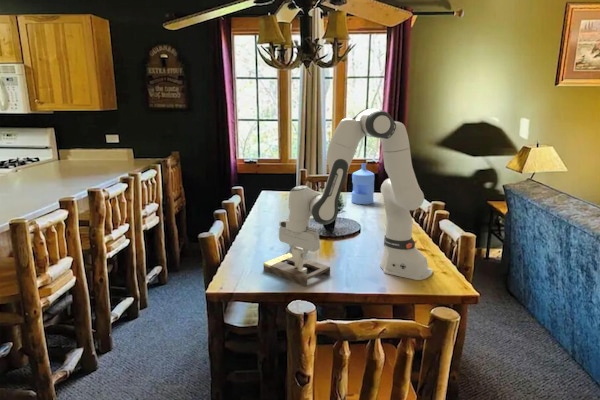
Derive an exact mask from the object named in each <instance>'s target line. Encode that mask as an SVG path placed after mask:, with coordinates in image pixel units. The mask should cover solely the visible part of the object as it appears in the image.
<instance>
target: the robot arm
mask: <svg viewBox="0 0 600 400" xmlns="http://www.w3.org/2000/svg"><path fill="white" fill-rule="evenodd" d="M364 137H369V138H376V139H379V140H380V143H381V149H382V157H383V166H384V167H383V168H384V169H385V172H386V174H387V176H388V178H386V179H385V180H383V182H382V184H381V186H380V194H381V195H382V197H383V198H382V199H383V203H384V209H385V218H386V220H385V235H384V240H383V246H384V249H383V255H382V258H381V262H380V264H379V266H380V268H381V269H382V270H383V273H385V274H387V275H392V276H397V277H401V278H404V279H409V280H414V281H422V280H426V279H428V278H429V277H431V276H432V275H433V274H434V272H433V271H434V269H433V268H431V267H428V265H429V263H428V259H427V256H425V255H424V254H423V253H422V252H421V251H420V250H419V249H418V248H417V247H416V244H417V241H418V239H416V240H414V238H413V237H412V235H413V217H412V215H411V211H416V210H417V209H420V208H421V206H422V205H423V203H424V201H425V195H424V192H423V190H421V187H420V185H419V183H418V179H417V177H416V173H415V170H414V168H413V162H412V155H411V147H410V146H411V145H410V140H409V136H408V132H407V129H406V126H405V124H404V123H402V122H400V121H395V120H394V119H393V117H392V116H391V114H390V113H388V112H387V111H386V110H383V109H378V108H365V109H362V110H361V111H359V112H358V113H357V114H356V115H355V116H354V117H351V118H350V117H345V118H343V119H341V120H340V121H339V123H338V125H337V126H336V128H335V130H334V131H333V134H332V136H331V138H330V141H329V144H328V147H327V151H326V160H327V161H326V162H327V165H328V170H329V172H328V178H327V180H326V183H325V187H324V190H323V192H320V191H316V190H314V189H312V188H310V187H309V186H308V185H297V186H295V187H293V188H291V189H290V191H289V194H288V211H289V213H288V218H286V219H284V220H281V221H279V225H278V226H279V228H278V239H279V241H280V242H281V243H283V244H284V243H285V244H288V246H289V249H290V251H291V253H290V254H292V249H293V248H295V247H294V246H297V247H300V248H303V251H304V252H303V253H302V254H301V258H305V259H307V254H308V253H309V251H310V252H313V253H315V252H317V251H319V250H320V248H321V241H320V233H319V231H318V230H317V229H316V228H312V227H311V224H310V223H311V217H312V218H313V220H314V221H315V222H316V223H317V224H319V225H324V226H325V225H329V224H331V223H333V222H335V220H336V219H337V217H338V214H339V213H338V212H339V205H338V204H339V199H340V196H341V192H342V189H343V187H344V184H345V180H346V177H347V173H348V171H349V169H350V166H351V164H352V161H353V159H354V157H355V155H356V153H357V152H356V151H357V149H358V146H359V143H360V142H361V141H362V139H363V138H364Z"/></svg>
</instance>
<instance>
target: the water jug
mask: <svg viewBox="0 0 600 400" xmlns="http://www.w3.org/2000/svg"><path fill="white" fill-rule="evenodd" d="M366 167H367V163H364V162H363V163H361V168H360V169H359V170H356V171H354V172H353V173H352V174H351V178H352V179H351V180H352V181H351V183H352V192H351V200H350V201H351V203H353V204H356V205H360V204H363V206H364V205H365V206H367V205H372V204H373V203H374V192H375V173H373V172H372V171H370V170H368V169H367V168H366Z"/></svg>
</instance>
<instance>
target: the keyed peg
mask: <svg viewBox="0 0 600 400" xmlns="http://www.w3.org/2000/svg"><path fill="white" fill-rule="evenodd" d="M303 252H304V251H303V248H300V247H295V248H293V249H292V260H294V261H295V264H294V266H295V267H297V270H298V271H301V272H303V273H306V274H308V268H307V267H303V260H305V259H306V258H301V254H302V253H303Z"/></svg>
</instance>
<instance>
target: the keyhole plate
mask: <svg viewBox="0 0 600 400" xmlns="http://www.w3.org/2000/svg"><path fill="white" fill-rule="evenodd" d="M286 262H287V263H286ZM289 263H290V264H289ZM292 264H293V265H292ZM262 266H263V271H265V272H267V273H269V274H272V275H274V276H277V277H280V278H283V279H285V280H288V281H290V282H292V283H295V284H298V285H300V286H301V287H302V286H303V287H308V281H309V280H310V279H312V278H313V279H314V278H315V277H317V276H318V275H321V274H324V275H327V276H330V275H331V266H329V265H326V264H324V263H323V264H322V263H320V262H316V261H314V260H312V259H307V258H305V260H303V267H304V268H307V269H309V270H310V269H311V270H313V271H312V272H310V273H303V272H301V271H298V270H297V267H295V261H294V260H292V254H291V253H290V252H288V253H284V254H283V255H280V256H277V257H274V258H273V259H270V260H267V261H265V262H263V265H262Z"/></svg>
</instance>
